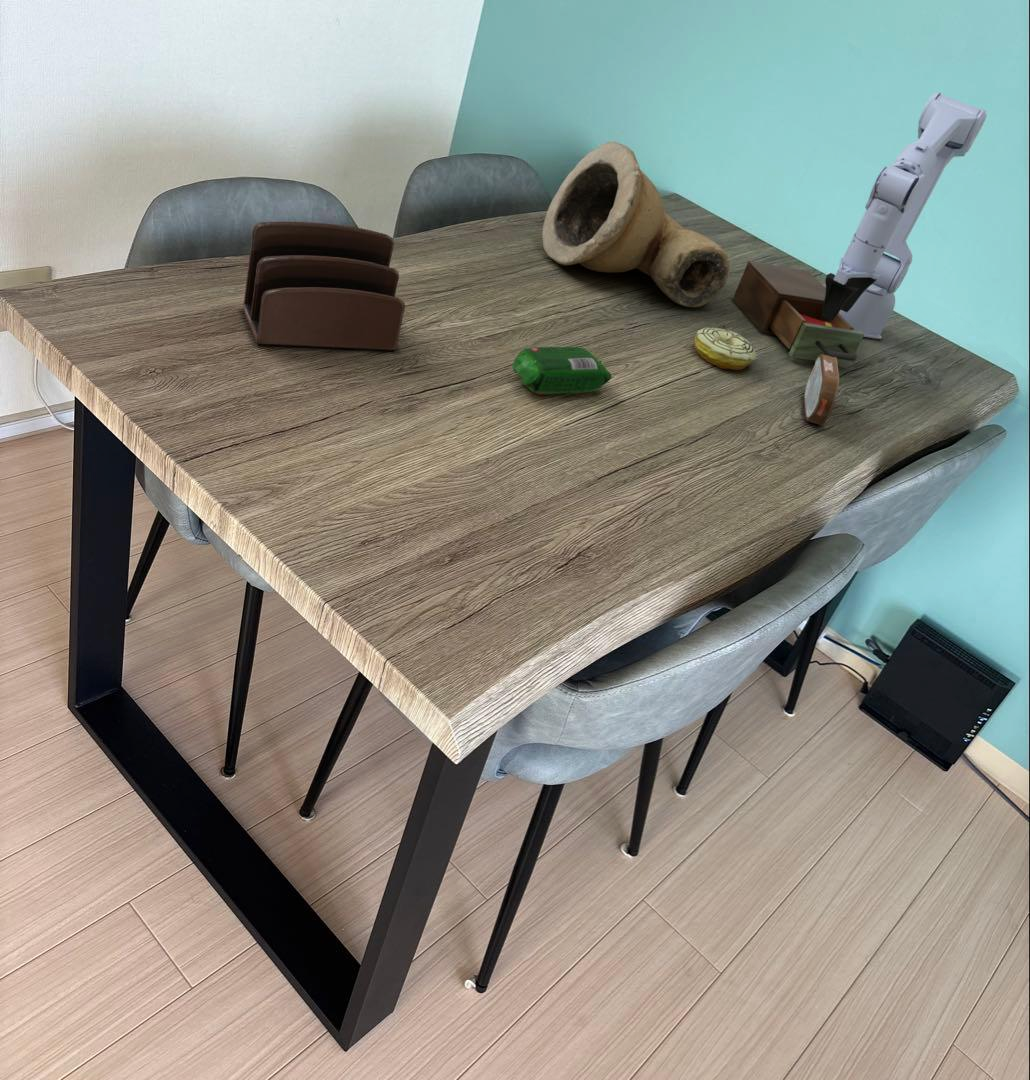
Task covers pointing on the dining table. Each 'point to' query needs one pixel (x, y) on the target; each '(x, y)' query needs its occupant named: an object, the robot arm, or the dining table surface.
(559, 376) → the snack package
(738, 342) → the decorated donut
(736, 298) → the cabinet
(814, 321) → the chocolate bar
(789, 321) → the drawer
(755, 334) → the dining table surface
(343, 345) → the letter holder
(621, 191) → the pipe
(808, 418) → the tin
